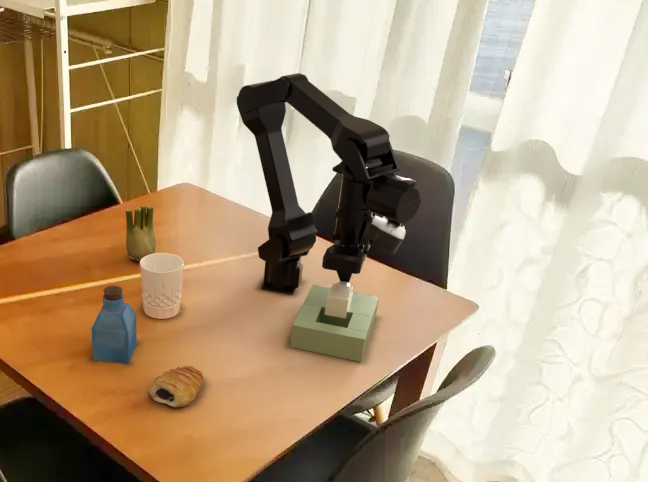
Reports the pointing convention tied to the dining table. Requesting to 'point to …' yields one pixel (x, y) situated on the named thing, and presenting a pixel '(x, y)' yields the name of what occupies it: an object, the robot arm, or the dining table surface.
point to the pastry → (177, 386)
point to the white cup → (161, 284)
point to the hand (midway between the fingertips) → (344, 285)
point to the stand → (334, 325)
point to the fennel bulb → (140, 233)
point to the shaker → (339, 299)
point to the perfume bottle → (114, 328)
